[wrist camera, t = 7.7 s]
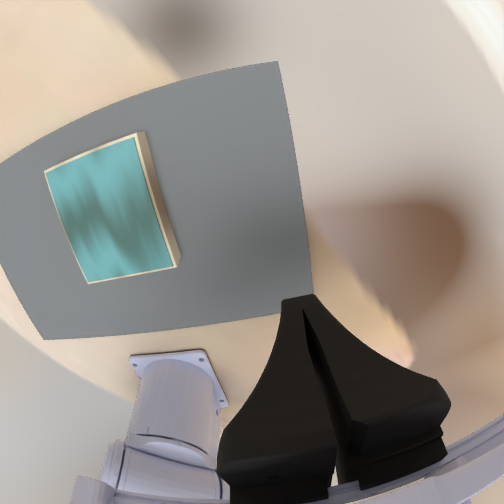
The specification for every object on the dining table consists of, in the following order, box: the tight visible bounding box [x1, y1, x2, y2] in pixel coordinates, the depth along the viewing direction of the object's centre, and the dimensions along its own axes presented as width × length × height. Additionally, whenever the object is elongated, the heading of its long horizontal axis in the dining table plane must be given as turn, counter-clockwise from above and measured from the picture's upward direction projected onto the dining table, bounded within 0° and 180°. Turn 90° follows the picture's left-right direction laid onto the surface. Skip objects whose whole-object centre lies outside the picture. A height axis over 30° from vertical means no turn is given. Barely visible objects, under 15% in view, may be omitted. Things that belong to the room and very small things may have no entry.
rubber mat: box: [0, 61, 313, 340], centre depth 20 cm, size 18×28×1 cm, turn 101°
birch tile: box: [44, 131, 181, 284], centre depth 18 cm, size 9×2×8 cm
